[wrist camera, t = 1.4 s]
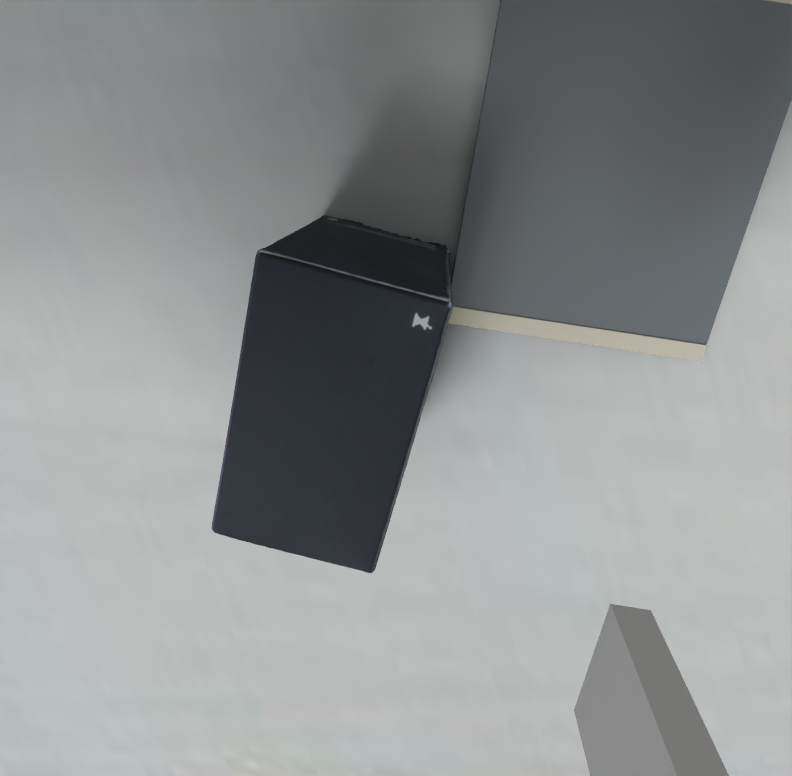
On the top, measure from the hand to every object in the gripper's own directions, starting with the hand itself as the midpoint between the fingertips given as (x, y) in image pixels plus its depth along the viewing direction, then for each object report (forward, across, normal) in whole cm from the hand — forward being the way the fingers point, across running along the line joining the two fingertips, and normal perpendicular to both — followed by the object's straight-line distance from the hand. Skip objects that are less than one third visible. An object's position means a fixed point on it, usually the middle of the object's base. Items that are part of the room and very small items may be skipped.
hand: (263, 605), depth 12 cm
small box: (+19, 0, 0) cm, 19 cm away
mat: (+19, +10, +9) cm, 23 cm away
